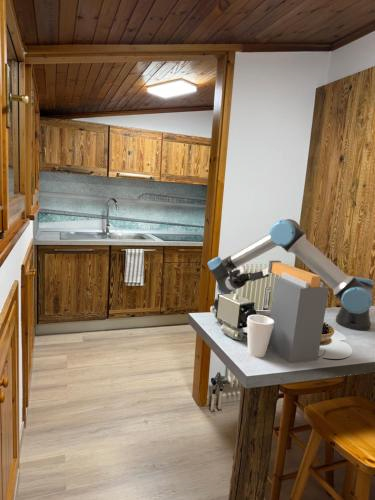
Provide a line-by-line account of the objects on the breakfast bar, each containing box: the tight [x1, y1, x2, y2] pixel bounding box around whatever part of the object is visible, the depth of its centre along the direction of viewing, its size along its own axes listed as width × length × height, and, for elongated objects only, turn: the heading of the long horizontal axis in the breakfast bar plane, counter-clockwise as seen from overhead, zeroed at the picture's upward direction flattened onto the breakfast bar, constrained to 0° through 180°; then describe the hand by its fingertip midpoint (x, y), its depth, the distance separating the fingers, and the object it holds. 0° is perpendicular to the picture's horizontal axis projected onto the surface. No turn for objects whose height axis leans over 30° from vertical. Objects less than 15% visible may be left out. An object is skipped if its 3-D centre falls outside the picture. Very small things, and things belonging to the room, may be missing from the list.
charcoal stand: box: [268, 273, 330, 364], centre depth 128 cm, size 12×15×29 cm
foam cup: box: [246, 314, 274, 358], centre depth 126 cm, size 10×9×13 cm
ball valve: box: [213, 292, 258, 341], centre depth 139 cm, size 18×8×18 cm, turn 36°
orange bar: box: [267, 260, 322, 288], centre depth 130 cm, size 5×23×5 cm, turn 24°
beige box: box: [209, 304, 223, 324], centre depth 154 cm, size 9×7×10 cm
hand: (258, 269), depth 153 cm, fingers open, 13 cm apart
